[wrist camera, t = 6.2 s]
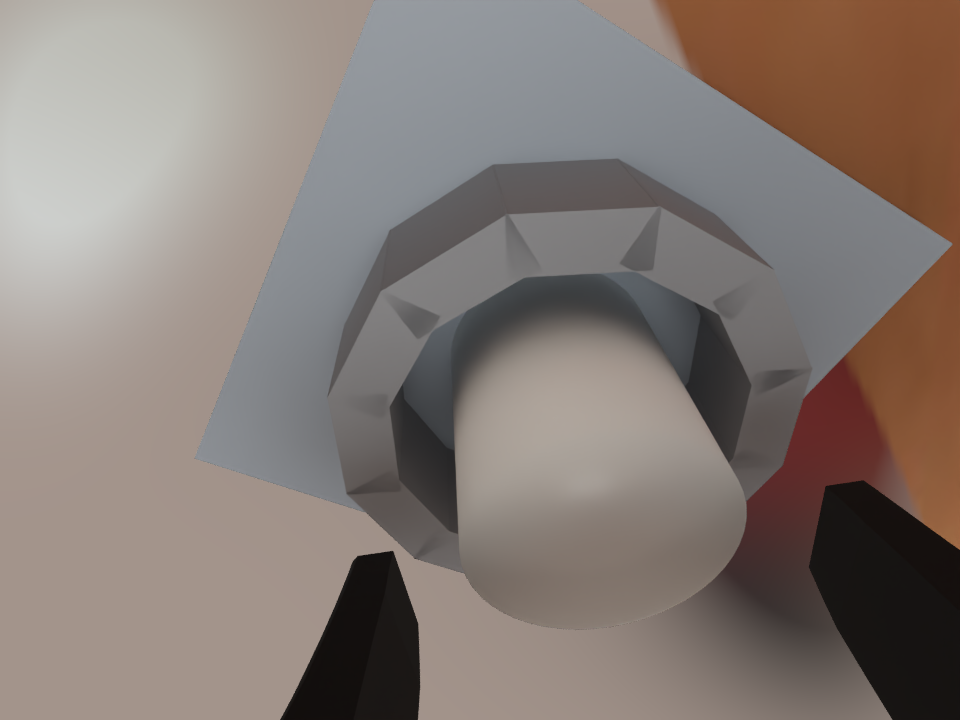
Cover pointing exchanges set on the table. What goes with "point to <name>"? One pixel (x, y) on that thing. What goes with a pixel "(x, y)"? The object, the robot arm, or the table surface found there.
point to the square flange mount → (539, 251)
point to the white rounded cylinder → (582, 460)
